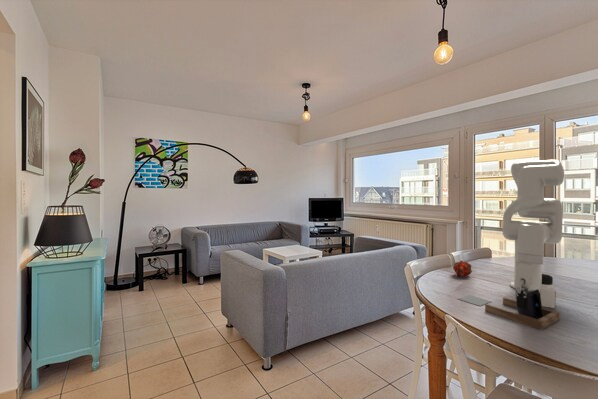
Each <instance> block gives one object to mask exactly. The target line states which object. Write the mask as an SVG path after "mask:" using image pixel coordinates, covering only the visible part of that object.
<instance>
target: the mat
mask: <svg viewBox="0 0 598 399" xmlns="http://www.w3.org/2000/svg"><path fill="white" fill-rule="evenodd" d="M457 300H460V301H463V302H466V303H468V304H472V305H475V306H478V307H482V306H485V304H490V303H492V300H488V299H486V298H482V297H479V296H475V295H472V294H468V295H464V296H461V297H458V298H457Z"/></svg>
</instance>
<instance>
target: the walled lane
mask: <svg viewBox="0 0 598 399" xmlns="http://www.w3.org/2000/svg"><path fill="white" fill-rule="evenodd" d="M502 304H503V305H505V306H509V307H512V308H516V309H518V308H517V301H516V299H513V298H509V297H507V296H506V297H502ZM484 308H485V309H484V311H485V312H487V313H491V314H493V315H496V316H500V317H502V318H504V319H505V318H506V319H508V320H510V321H514V322H517V323H519V324H520V323H521V324H523V325H526V326H528V327H532V328H535V329H539V330H541V329H542V330H544V329H545V328H547V327H548V325H549V326H551V325H553V324H554V323H556V322H557V320H558V319H561V318H560V312H558V311H556V310H552V309H548V308H546V307H542V311H543V317H542V318H540V319H538V318H532V317H528V316H525V315H522V314H519V313H518V312H515V311H511V310H508V309H506V308H503V307H499V306H496V305H494V304H493V305H492V304H490V303H487V304H485V305H484ZM555 321H556V322H555ZM558 321H559V320H558ZM553 322H554V323H553ZM550 324H551V325H550ZM546 326H547V327H546Z"/></svg>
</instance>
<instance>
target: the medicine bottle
mask: <svg viewBox="0 0 598 399" xmlns="http://www.w3.org/2000/svg"><path fill="white" fill-rule="evenodd" d="M553 281H554V279H553V277H552V276H551V275H550V274H546V273H542V285H541V288H540V290H541V293H540V294H541V296H540V297H541V304H542V308H549V307H550V309H556V297H557V294H556V292H557V291H556V289H555V288H554V286H553Z"/></svg>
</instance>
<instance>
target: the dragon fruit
mask: <svg viewBox="0 0 598 399" xmlns="http://www.w3.org/2000/svg"><path fill="white" fill-rule="evenodd" d="M453 270H454V272H455V274H456V275H457V277H462V276H463V277H466V278H467V277H468V276H469V275H471V274H472V272H473V270H472V265H471V264H470V263H468V261H464V260H460V261H458V262H457V261H456V262H455V263H454V265H453Z"/></svg>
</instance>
